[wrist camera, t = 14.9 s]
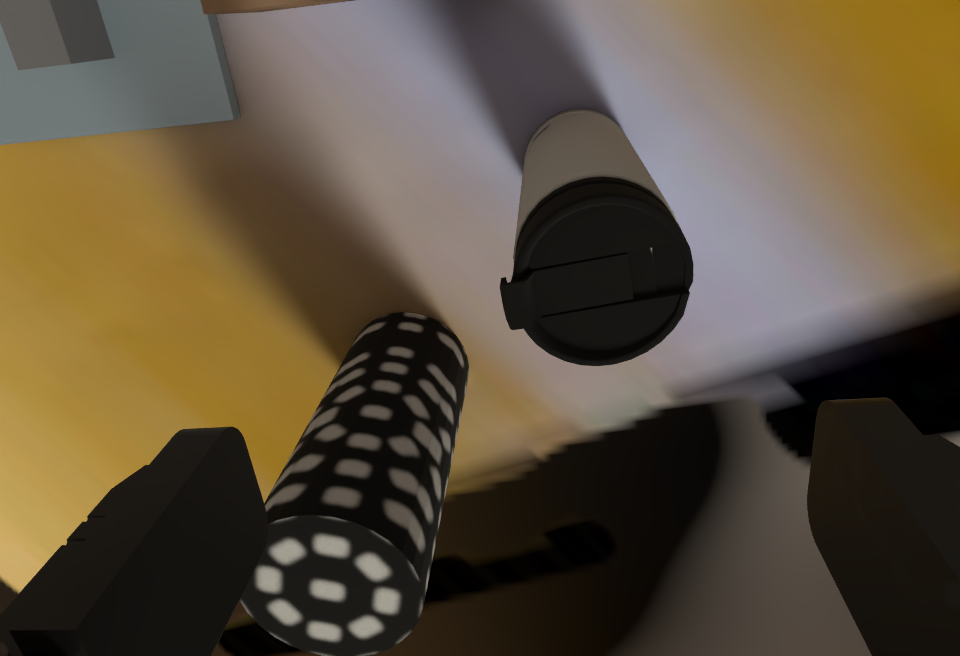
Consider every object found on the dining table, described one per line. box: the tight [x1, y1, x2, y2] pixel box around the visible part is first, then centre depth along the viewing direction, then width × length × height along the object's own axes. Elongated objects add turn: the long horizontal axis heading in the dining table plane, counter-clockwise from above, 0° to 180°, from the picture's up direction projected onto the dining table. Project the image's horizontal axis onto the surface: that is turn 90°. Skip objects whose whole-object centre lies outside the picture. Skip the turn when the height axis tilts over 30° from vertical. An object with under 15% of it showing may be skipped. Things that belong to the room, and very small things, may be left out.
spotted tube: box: [240, 312, 469, 656], centre depth 38 cm, size 8×8×20 cm
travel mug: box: [500, 108, 693, 366], centre depth 31 cm, size 6×7×20 cm
